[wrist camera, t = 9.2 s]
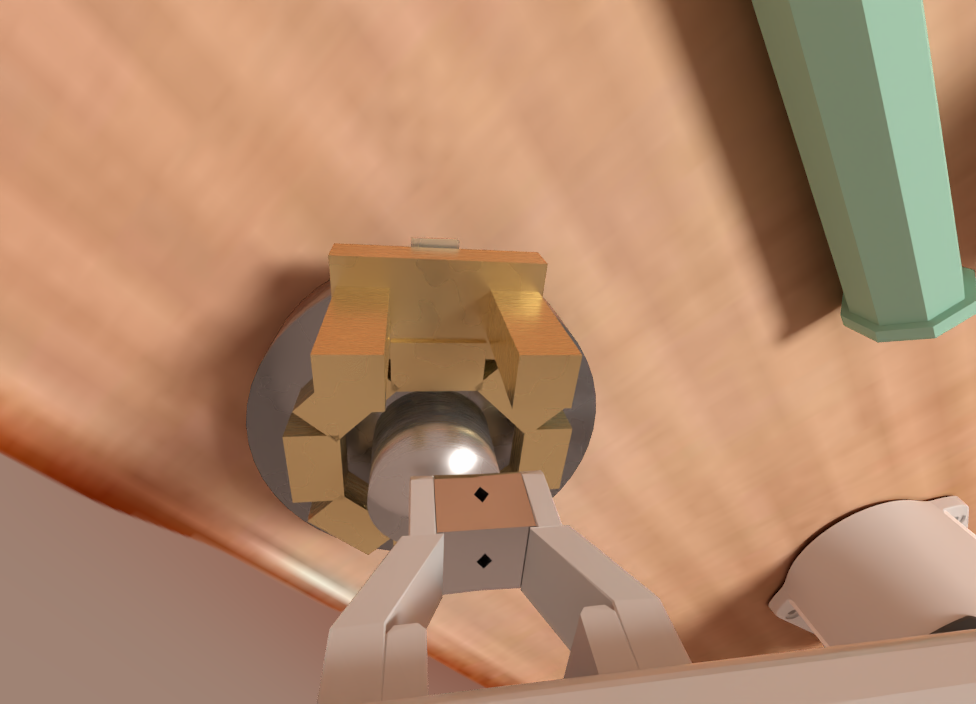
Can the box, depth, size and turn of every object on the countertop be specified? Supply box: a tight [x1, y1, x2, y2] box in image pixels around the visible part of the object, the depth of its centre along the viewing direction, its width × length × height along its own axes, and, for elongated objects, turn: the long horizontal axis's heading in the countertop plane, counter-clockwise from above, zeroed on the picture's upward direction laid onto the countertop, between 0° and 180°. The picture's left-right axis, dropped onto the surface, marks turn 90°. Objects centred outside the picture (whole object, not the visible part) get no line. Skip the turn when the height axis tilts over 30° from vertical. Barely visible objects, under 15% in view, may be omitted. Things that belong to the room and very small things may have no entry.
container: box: [751, 0, 976, 342], centre depth 20 cm, size 6×6×25 cm
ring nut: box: [282, 243, 582, 555], centre depth 20 cm, size 17×13×7 cm
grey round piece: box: [246, 237, 596, 550], centre depth 23 cm, size 18×18×8 cm
